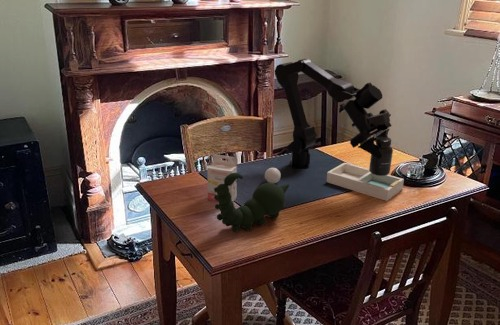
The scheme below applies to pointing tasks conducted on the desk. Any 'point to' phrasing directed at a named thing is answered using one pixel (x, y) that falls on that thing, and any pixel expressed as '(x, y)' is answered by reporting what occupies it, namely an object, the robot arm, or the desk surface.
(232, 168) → the ink cartridge box
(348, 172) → the tray
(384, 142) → the supplement bottle
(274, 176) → the white ball
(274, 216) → the toy figurine
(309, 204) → the desk surface
